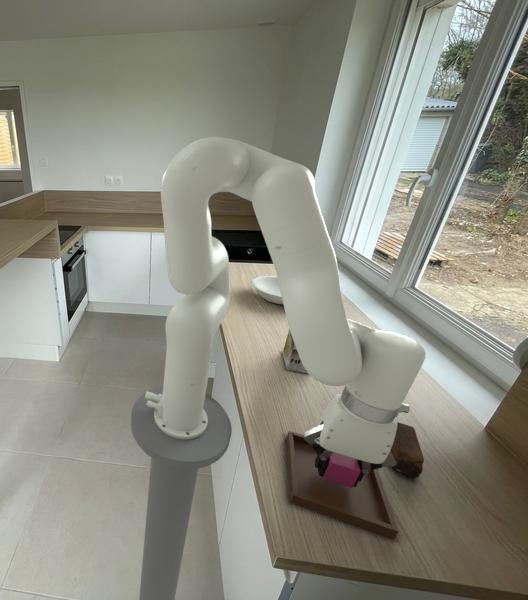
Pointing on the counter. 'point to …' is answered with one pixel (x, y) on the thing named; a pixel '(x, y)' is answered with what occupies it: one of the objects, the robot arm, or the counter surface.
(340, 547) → the counter surface
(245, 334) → the counter surface
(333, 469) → the mulberry cube
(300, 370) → the coffee box
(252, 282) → the soup bowl
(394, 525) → the tray
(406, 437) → the brick
